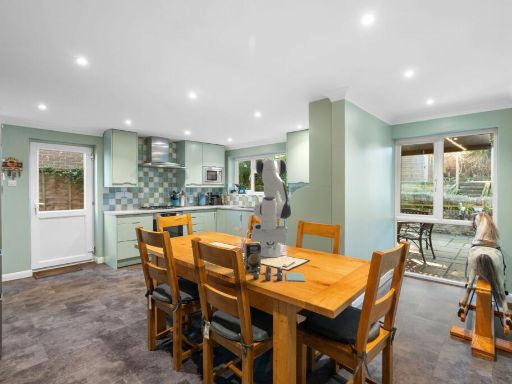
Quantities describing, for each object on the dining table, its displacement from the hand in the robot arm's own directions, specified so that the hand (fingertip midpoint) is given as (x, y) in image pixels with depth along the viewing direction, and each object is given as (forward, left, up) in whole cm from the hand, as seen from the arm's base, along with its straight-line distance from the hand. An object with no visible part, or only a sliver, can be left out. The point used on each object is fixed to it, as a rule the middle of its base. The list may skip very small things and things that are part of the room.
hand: (268, 249), depth 149 cm
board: (0, +15, -15) cm, 21 cm away
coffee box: (-10, -10, -15) cm, 21 cm away
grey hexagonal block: (0, 0, -2) cm, 2 cm away
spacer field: (0, 0, -15) cm, 15 cm away
